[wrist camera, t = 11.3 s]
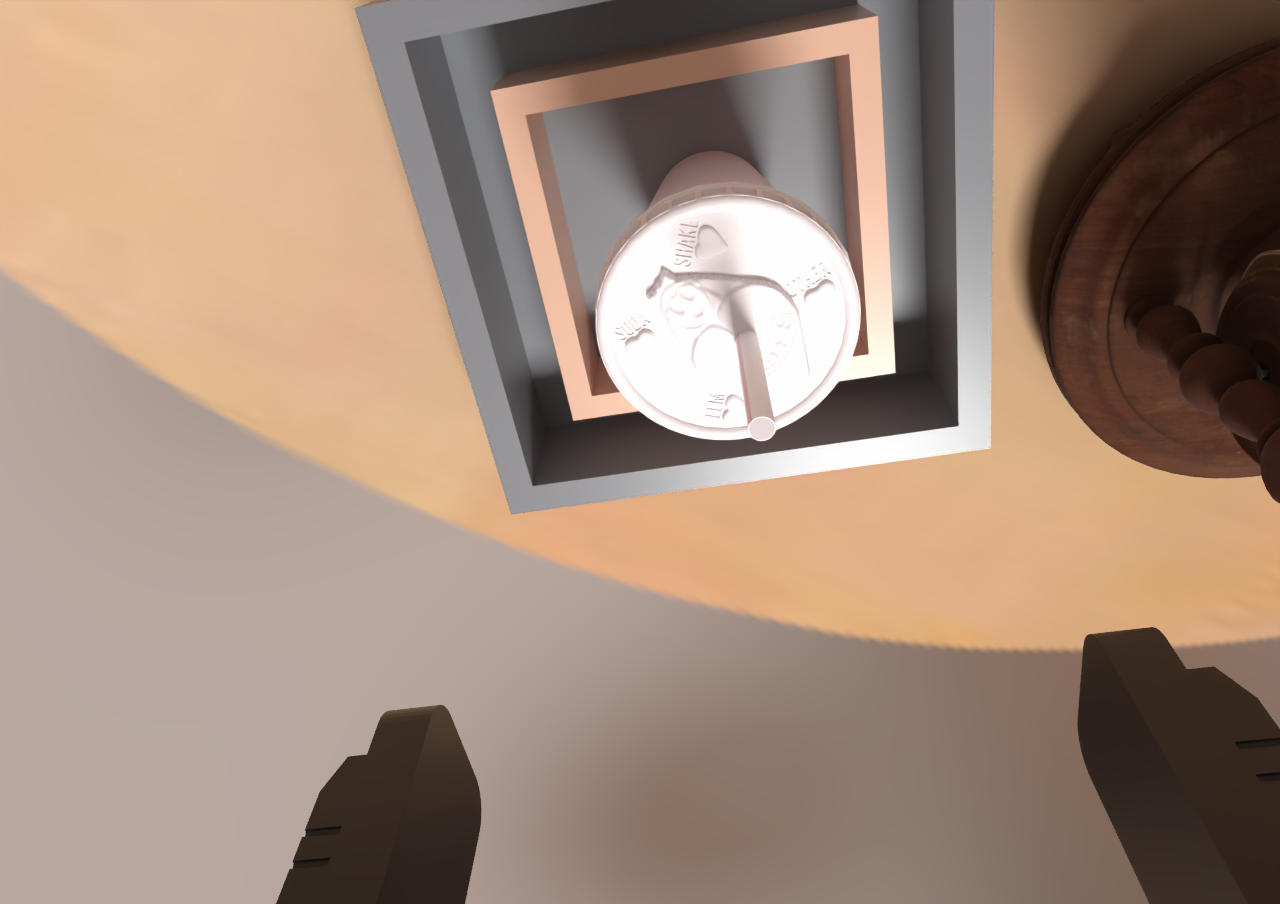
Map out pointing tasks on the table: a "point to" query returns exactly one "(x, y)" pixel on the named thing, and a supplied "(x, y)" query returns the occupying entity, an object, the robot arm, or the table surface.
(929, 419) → the socket box
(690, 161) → the smoothie
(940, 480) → the table surface
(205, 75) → the table surface
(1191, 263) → the scroll
